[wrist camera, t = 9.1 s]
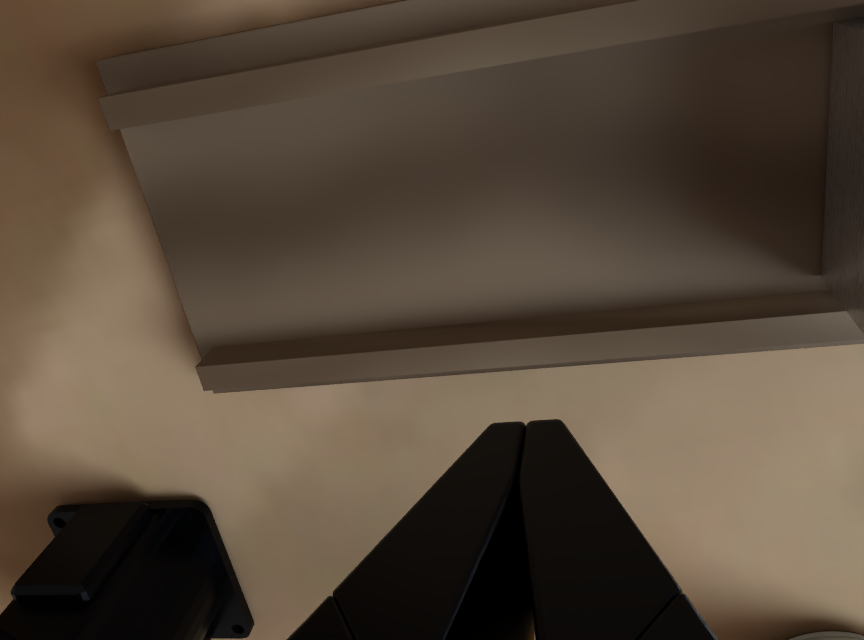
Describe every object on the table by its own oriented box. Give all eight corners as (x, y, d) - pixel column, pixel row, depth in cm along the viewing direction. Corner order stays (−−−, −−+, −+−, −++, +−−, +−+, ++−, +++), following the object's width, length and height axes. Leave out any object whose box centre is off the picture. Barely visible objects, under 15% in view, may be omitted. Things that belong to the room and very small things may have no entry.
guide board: (1138, 302, 18) (1319, 413, 14) (226, 377, 24) (150, 473, 20) (1253, -166, 14) (1563, -216, 10) (116, 56, 20) (-13, 87, 15)
